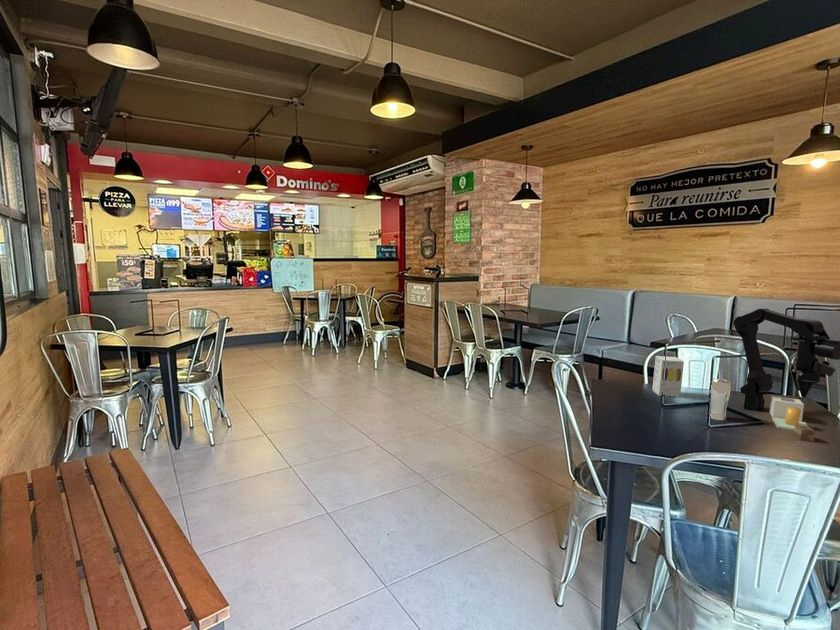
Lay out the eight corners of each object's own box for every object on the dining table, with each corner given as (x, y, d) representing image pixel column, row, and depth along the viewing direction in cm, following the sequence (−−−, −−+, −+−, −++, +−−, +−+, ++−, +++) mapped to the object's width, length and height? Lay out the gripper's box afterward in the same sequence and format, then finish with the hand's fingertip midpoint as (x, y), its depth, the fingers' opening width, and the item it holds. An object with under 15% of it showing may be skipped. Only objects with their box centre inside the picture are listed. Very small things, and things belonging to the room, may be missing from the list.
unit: (772, 417, 181) (774, 399, 180) (769, 412, 187) (771, 394, 186) (802, 422, 176) (805, 403, 175) (798, 416, 182) (800, 398, 181)
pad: (777, 427, 170) (777, 425, 170) (772, 419, 179) (772, 417, 179) (811, 433, 165) (812, 431, 165) (804, 424, 174) (805, 422, 174)
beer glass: (725, 416, 182) (729, 379, 180) (729, 422, 175) (733, 384, 173) (705, 413, 185) (709, 377, 183) (708, 419, 178) (711, 381, 176)
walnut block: (800, 440, 159) (801, 429, 158) (793, 436, 163) (795, 425, 162) (813, 441, 158) (815, 430, 157) (806, 437, 162) (808, 426, 161)
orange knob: (786, 424, 171) (788, 409, 170) (783, 421, 175) (786, 406, 174) (799, 426, 169) (801, 411, 168) (797, 423, 173) (799, 408, 172)
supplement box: (658, 396, 207) (661, 359, 204) (651, 390, 216) (654, 355, 213) (681, 397, 205) (684, 360, 203) (673, 391, 214) (676, 356, 212)
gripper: (842, 361, 159) (835, 404, 161) (828, 351, 175) (822, 391, 177) (801, 357, 164) (795, 399, 167) (791, 348, 180) (786, 386, 182)
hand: (801, 393), depth 173 cm, fingers open, 9 cm apart
